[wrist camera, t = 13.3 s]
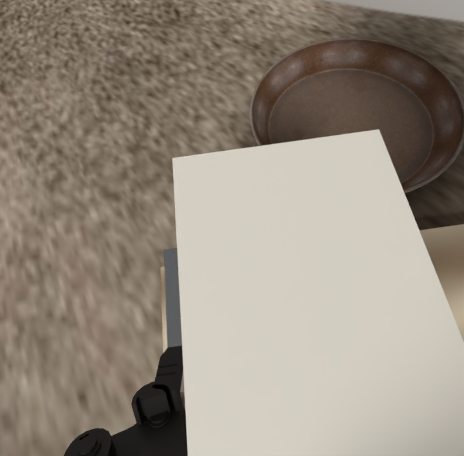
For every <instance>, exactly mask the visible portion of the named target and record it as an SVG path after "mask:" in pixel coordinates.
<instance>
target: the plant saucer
mask: <svg viewBox="0 0 464 456" xmlns="http://www.w3.org/2000/svg"><path fill="white" fill-rule="evenodd" d="M250 123H251V128H252V132H253V135H254V138H255V140H256V142H257V144H258V146H263V145H271V144H278V143H285V142H292V141H299V140H306V139H313V138H321V137H328V136H335V135H342V134H349V133H356V132H363V131H371V130H378V129H379V131H380V133H381V136H382V138H383V141H384V143H385V146H386V148H387V151H388V153H389V156H390V158H391V161H392V163H393V166H394V168H395V171H396V173H397V176H398V178H399V181H400V183H401V186H402V188H403V191H404V193H407V192H410V191H413V190H415V189H417V188H420V187H422V186H424V185H425V184H427V183H429V182H431V181H432V180H434V179H435V178H437V177H438V176H439V175H441V174H442V173H443V172H444V171H445V170H446V169H447V168H448V167H449V166H450V165H451V164H452V163H453V162H454V160H455V159H456V157H457V156H458V154H459V153H460V151H461V149H462V147H463V144H464V102H463V99H462V97H461V95H460V92H459V91H458V89H457V87H456V86H455V84H454V83H453V82H452V80H451V79H450V78H449V77H448V76H447V75H446V74H445V73H444V72H443V71H442V70H441V69H440V68H439V67H437V66H436V65H435V64H434V63H432V62H431V61H430V60H428V59H426V58H425V57H423V56H421V55H419V54H417V53H415V52H414V51H411V50H409V49H407V48H404V47H401V46H398V45H395V44H392V43H389V42H384V41H379V40H373V39H365V38H340V39H331V40H325V41H321V42H316V43H313V44H310V45H307V46H304V47H302V48H299V49H297V50H295V51H293V52H291V53H290V54H288V55H286V56H284V57H283V58H281V59H280V60H279V61H278V62H276V63H275V64H274V65H273V66H271V67H270V69H269V70H268V71H267V72H266V73H265V74H264V75H263V77H262V78H261V80H260V81H259V82H258V84H257V86H256V88H255V91H254V93H253V96H252V99H251V104H250Z"/></svg>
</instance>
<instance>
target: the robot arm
mask: <svg viewBox="0 0 464 456" xmlns="http://www.w3.org/2000/svg"><path fill="white" fill-rule="evenodd" d="M131 405H132V408H133V412H134V415H135V418H136V422H137V423H136V424H135V425H134V426H132V427H130V428H128V429H127V430H124V431H122V432H119V433H117V434H115V435H112V436H111V435H110V433H109V431H107V430H105V429H99V428H95V429H92V430H89V431H86V432H84V433H83V434H81V435H79V436H78V437H77V438H76V439H75V440H74V441H73V442H72V443H71V444H70V445H69V447H68V449H67V450H66V452H65V454H64V456H188V450H187V431H186V411H185V391H184V372H183V352H182V346H175V347H168V348H167V349H166V350H165V352H164V353H163V354H162V356H161V357H160V361H159V365H158V370H157V374H156V378H155V382H151V383H149V384H147V385H145V386H143V387H142V388H141V389H140V390H138V391H137V393H136V394H135V396H134V397H133V400H132V404H131Z"/></svg>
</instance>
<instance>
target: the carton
mask: <svg viewBox="0 0 464 456" xmlns="http://www.w3.org/2000/svg"><path fill="white" fill-rule="evenodd" d="M173 176H174V196H175V215H176V235H177V254H178V274H179V293H180V313H181V333H182V352H183V372H184V391H185V411H186V431H187V450H188V456H464V341H463V339H462V336H461V334H460V331H459V329H458V326H457V324H456V321H455V319H454V316H453V314H452V311H451V309H450V306H449V304H448V301H447V299H446V296H445V294H444V291H443V289H442V286H441V284H440V281H439V279H438V276H437V274H436V271H435V269H434V266H433V264H432V261H431V259H430V256H429V254H428V251H427V249H426V246H425V244H424V241H423V239H422V236H421V234H420V231H419V228H418V226H417V223H416V221H415V218H414V216H413V213H412V211H411V208H410V206H409V203H408V201H407V198H406V196H405V193H404V191H403V188H402V186H401V183H400V181H399V178H398V176H397V173H396V171H395V168H394V166H393V163H392V161H391V158H390V156H389V153H388V151H387V148H386V146H385V143H384V141H383V138H382V136H381V133H380V131H379V129H378V130H371V131H363V132H356V133H349V134H342V135H335V136H328V137H321V138H313V139H306V140H299V141H292V142H285V143H278V144H271V145H263V146H256V147H249V148H242V149H235V150H228V151H221V152H213V153H206V154H199V155H192V156H185V157H178V158H173Z"/></svg>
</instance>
